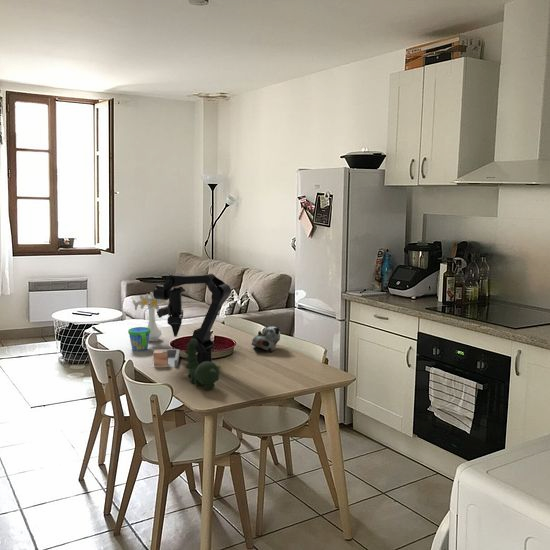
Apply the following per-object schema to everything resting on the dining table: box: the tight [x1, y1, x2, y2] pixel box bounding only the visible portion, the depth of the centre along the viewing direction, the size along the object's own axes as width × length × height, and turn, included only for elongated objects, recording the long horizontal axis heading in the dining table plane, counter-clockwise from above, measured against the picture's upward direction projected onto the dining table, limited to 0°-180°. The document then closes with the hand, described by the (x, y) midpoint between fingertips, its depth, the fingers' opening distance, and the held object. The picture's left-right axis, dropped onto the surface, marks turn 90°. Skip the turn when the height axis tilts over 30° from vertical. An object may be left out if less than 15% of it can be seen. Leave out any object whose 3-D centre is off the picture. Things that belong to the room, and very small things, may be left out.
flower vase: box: [131, 291, 169, 342], centre depth 319 cm, size 13×18×25 cm
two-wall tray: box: [149, 348, 180, 369], centre depth 283 cm, size 12×18×3 cm, turn 6°
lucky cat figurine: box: [251, 326, 281, 353], centre depth 303 cm, size 15×12×14 cm
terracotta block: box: [152, 349, 168, 366], centre depth 277 cm, size 4×6×6 cm, turn 96°
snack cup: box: [127, 326, 151, 352], centre depth 303 cm, size 16×10×10 cm
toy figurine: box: [184, 338, 220, 390], centre depth 251 cm, size 9×19×25 cm
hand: (176, 334), depth 286 cm, fingers open, 9 cm apart
